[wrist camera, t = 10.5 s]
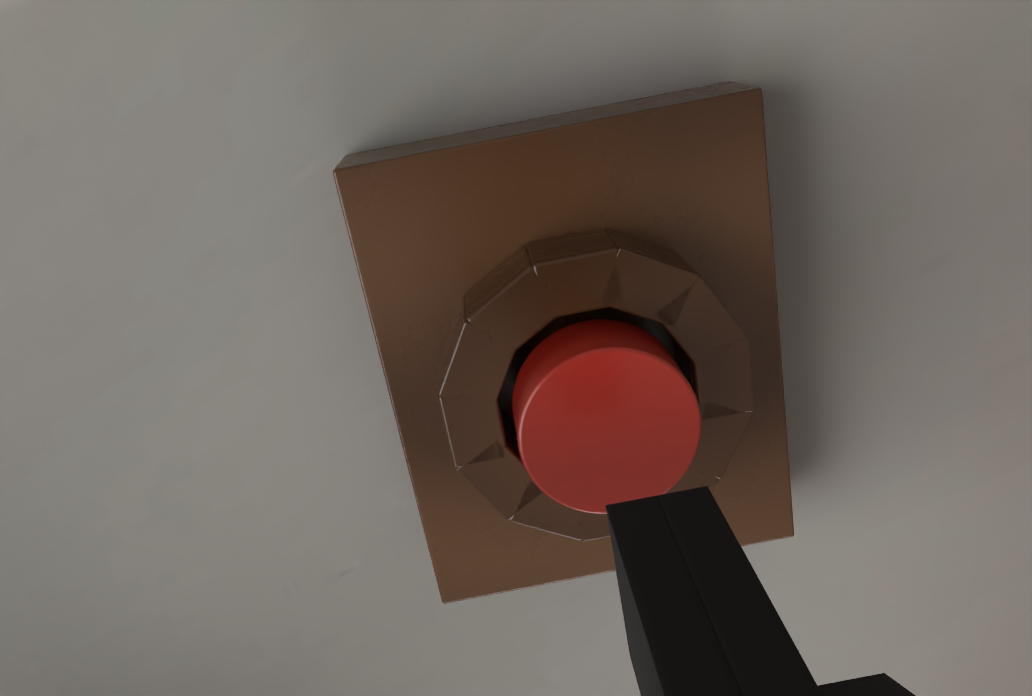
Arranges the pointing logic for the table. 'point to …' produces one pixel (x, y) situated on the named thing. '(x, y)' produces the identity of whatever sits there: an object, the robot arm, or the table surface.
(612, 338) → the button
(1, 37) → the table surface
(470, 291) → the button block
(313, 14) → the table surface
